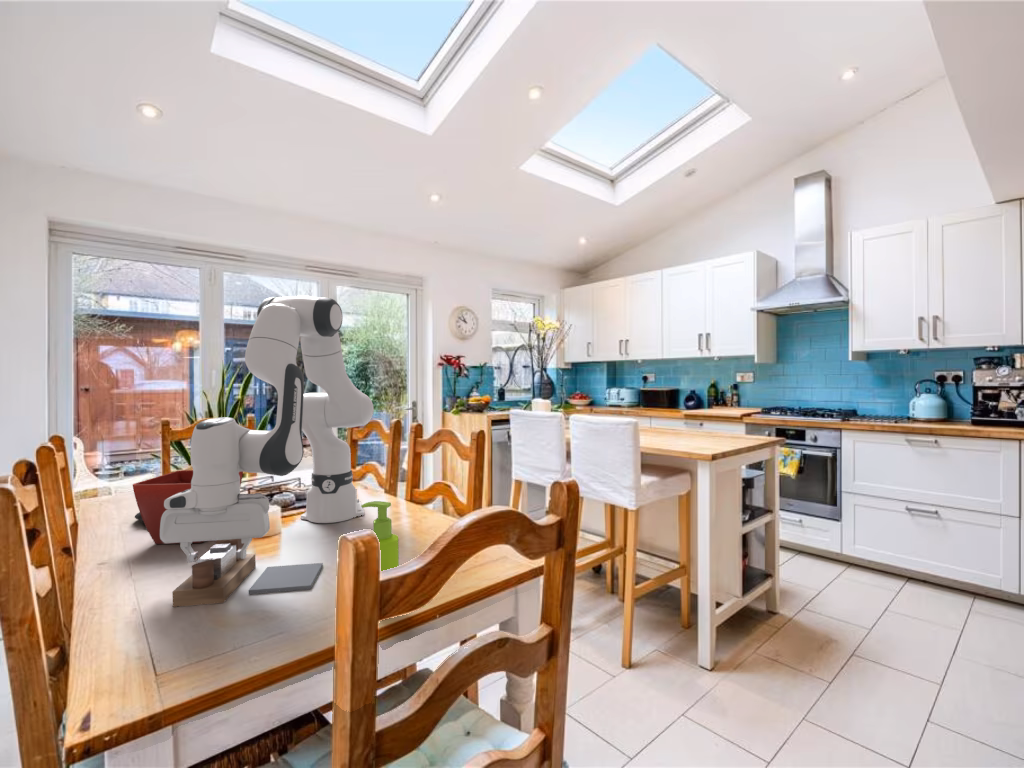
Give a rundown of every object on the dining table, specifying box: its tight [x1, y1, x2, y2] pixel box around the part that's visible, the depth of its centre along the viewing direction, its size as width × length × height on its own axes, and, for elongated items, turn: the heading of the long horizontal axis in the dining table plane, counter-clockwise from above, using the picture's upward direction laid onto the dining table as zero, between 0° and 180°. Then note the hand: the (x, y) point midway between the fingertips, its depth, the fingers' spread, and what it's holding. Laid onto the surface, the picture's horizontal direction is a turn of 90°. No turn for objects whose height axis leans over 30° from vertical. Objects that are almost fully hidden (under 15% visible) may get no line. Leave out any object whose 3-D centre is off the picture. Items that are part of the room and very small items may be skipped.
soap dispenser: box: [361, 500, 400, 571], centre depth 92 cm, size 6×7×20 cm
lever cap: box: [196, 543, 236, 578], centre depth 102 cm, size 8×4×5 cm, turn 10°
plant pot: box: [132, 469, 244, 545], centre depth 133 cm, size 19×19×17 cm
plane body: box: [172, 539, 257, 608], centre depth 102 cm, size 18×9×9 cm, turn 10°
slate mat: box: [248, 562, 324, 595], centre depth 104 cm, size 12×12×1 cm
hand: (217, 560), depth 102 cm, fingers open, 8 cm apart
